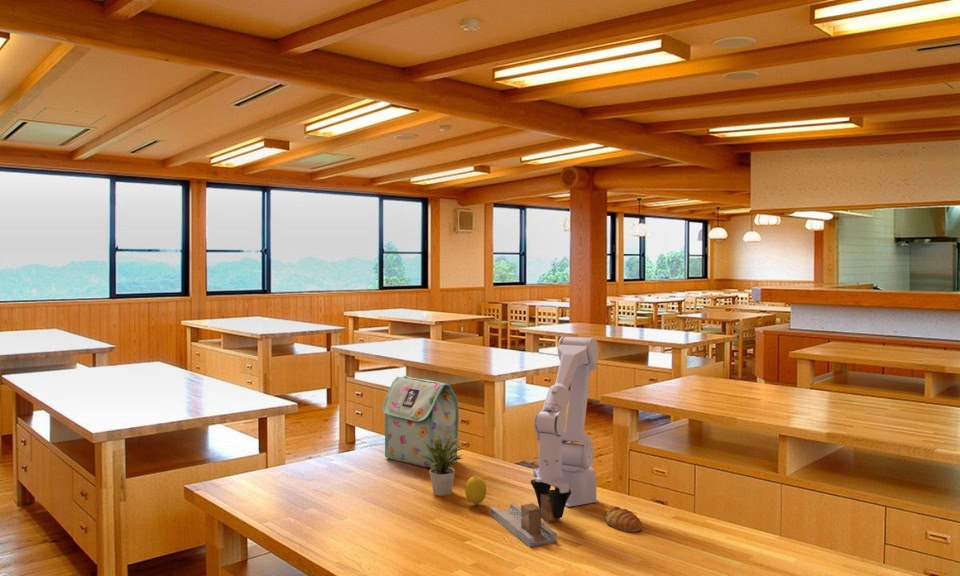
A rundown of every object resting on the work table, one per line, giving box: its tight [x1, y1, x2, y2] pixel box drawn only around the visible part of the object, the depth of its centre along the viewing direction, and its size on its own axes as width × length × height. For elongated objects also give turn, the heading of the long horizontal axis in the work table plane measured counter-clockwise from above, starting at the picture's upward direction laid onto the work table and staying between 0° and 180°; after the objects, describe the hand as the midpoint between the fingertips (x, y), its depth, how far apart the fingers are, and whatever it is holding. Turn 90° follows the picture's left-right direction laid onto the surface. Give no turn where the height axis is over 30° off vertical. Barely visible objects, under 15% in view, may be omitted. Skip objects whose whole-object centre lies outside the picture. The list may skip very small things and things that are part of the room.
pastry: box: [604, 506, 643, 533], centre depth 170 cm, size 9×7×4 cm
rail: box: [489, 502, 558, 548], centre depth 169 cm, size 7×22×7 cm, turn 23°
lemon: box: [464, 475, 487, 506], centre depth 185 cm, size 6×6×8 cm
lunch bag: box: [381, 375, 460, 469], centre depth 227 cm, size 23×16×27 cm
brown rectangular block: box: [541, 493, 561, 524], centre depth 175 cm, size 3×4×6 cm
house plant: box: [421, 435, 469, 497], centre depth 194 cm, size 14×14×16 cm
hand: (550, 512), depth 175 cm, fingers open, 7 cm apart
